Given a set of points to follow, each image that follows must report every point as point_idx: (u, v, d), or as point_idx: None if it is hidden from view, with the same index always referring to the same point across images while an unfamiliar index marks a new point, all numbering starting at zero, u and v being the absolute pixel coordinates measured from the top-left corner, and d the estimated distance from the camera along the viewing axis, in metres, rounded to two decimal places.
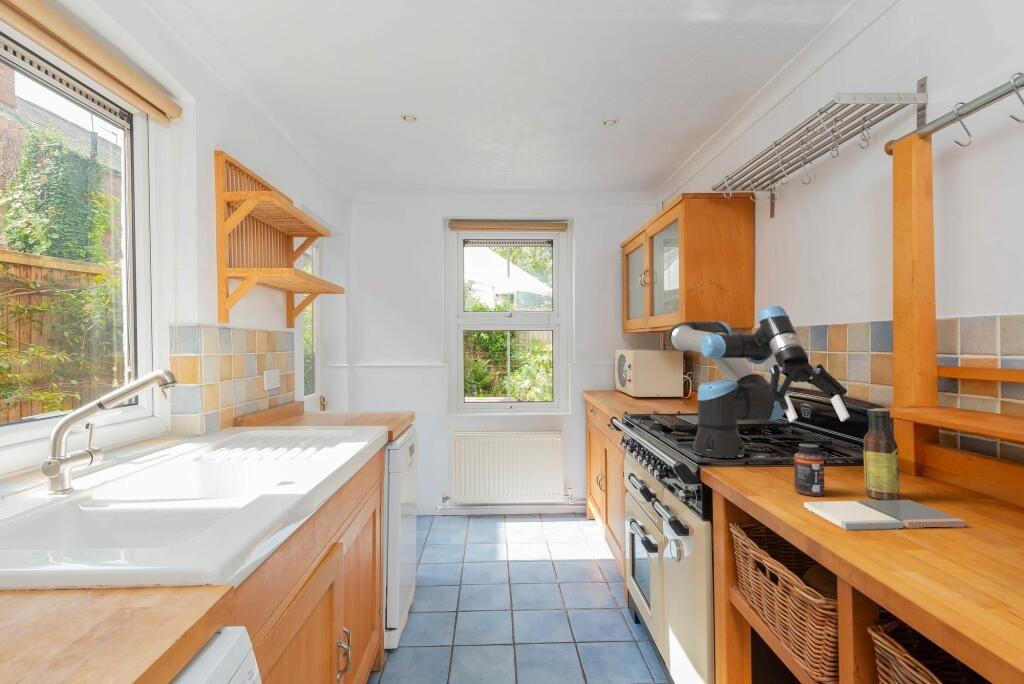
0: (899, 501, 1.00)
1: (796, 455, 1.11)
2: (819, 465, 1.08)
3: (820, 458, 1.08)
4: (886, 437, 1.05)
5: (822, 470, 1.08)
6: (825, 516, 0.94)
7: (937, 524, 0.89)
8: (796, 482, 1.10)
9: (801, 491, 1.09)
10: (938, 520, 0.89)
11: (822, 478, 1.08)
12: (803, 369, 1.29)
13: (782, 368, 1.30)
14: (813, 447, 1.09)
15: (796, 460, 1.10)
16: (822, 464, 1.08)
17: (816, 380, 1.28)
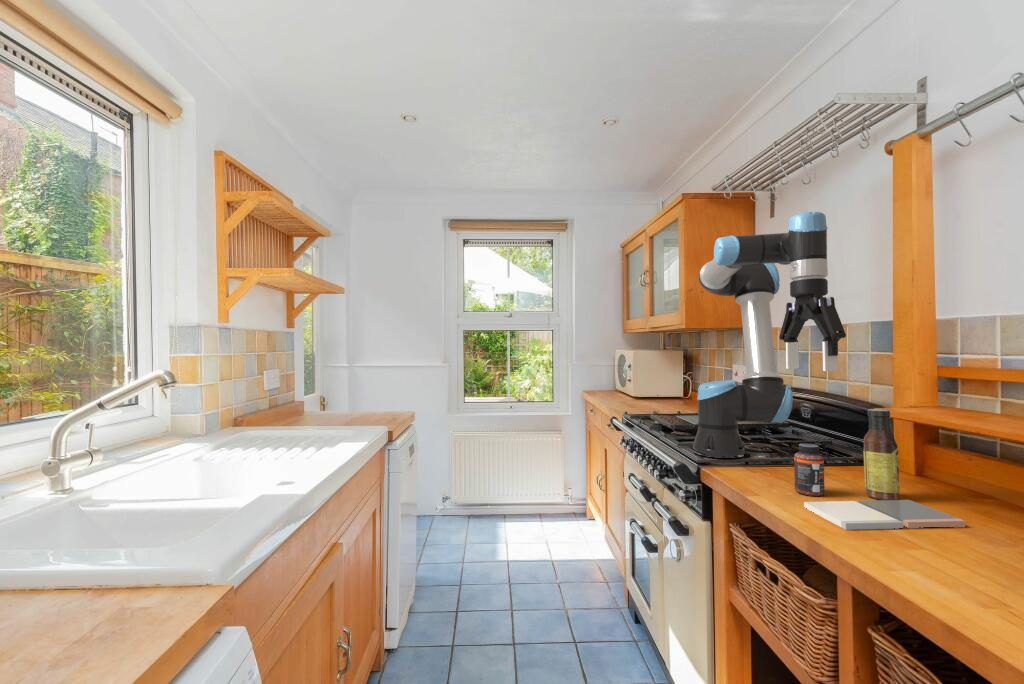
0: (899, 501, 1.00)
1: (796, 455, 1.11)
2: (819, 465, 1.08)
3: (820, 458, 1.08)
4: (886, 437, 1.05)
5: (822, 470, 1.08)
6: (825, 516, 0.94)
7: (937, 524, 0.89)
8: (796, 482, 1.10)
9: (801, 491, 1.09)
10: (938, 520, 0.89)
11: (822, 478, 1.08)
12: None
13: None
14: (813, 447, 1.09)
15: (796, 460, 1.10)
16: (822, 464, 1.08)
17: None
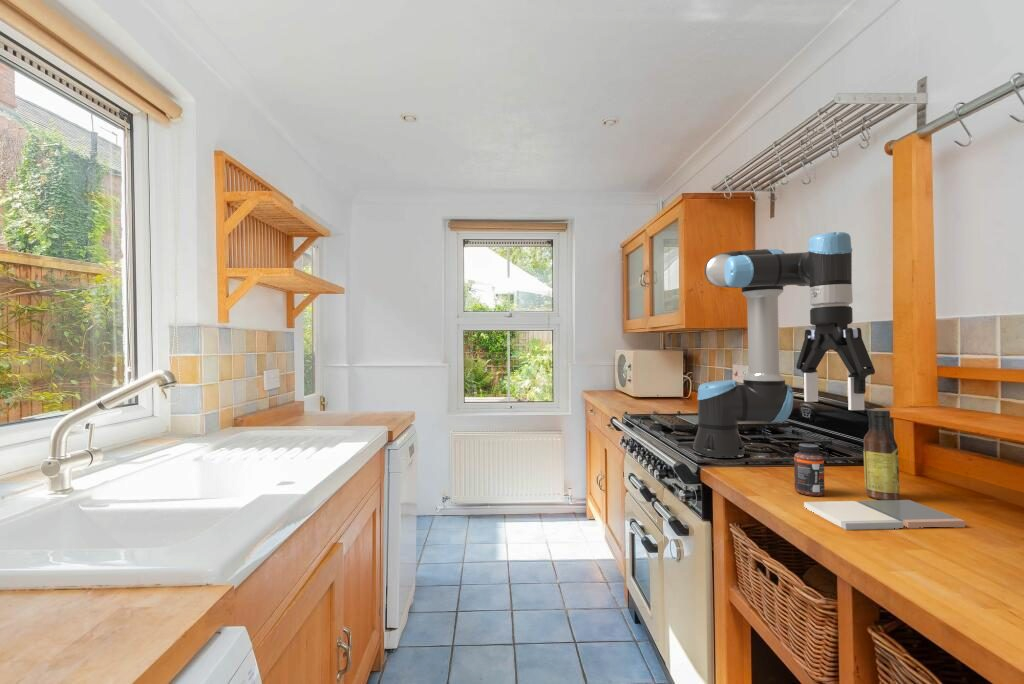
0: (899, 501, 1.00)
1: (796, 455, 1.11)
2: (819, 465, 1.08)
3: (820, 458, 1.08)
4: (886, 437, 1.05)
5: (822, 470, 1.08)
6: (825, 516, 0.94)
7: (937, 524, 0.89)
8: (796, 482, 1.10)
9: (801, 491, 1.09)
10: (938, 520, 0.89)
11: (822, 478, 1.08)
12: None
13: None
14: (813, 447, 1.09)
15: (796, 460, 1.10)
16: (822, 464, 1.08)
17: None
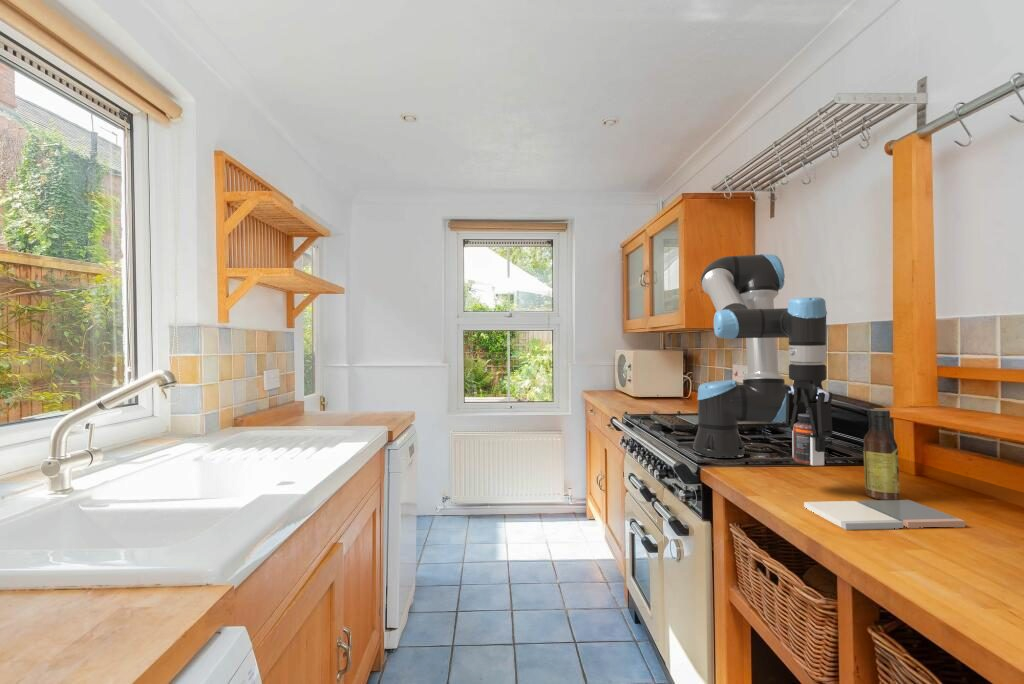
0: (899, 501, 1.00)
1: (795, 425, 1.11)
2: None
3: None
4: (886, 437, 1.05)
5: None
6: (825, 516, 0.94)
7: (937, 524, 0.89)
8: (795, 452, 1.11)
9: (800, 460, 1.10)
10: (938, 520, 0.89)
11: None
12: None
13: None
14: None
15: (795, 430, 1.11)
16: None
17: None
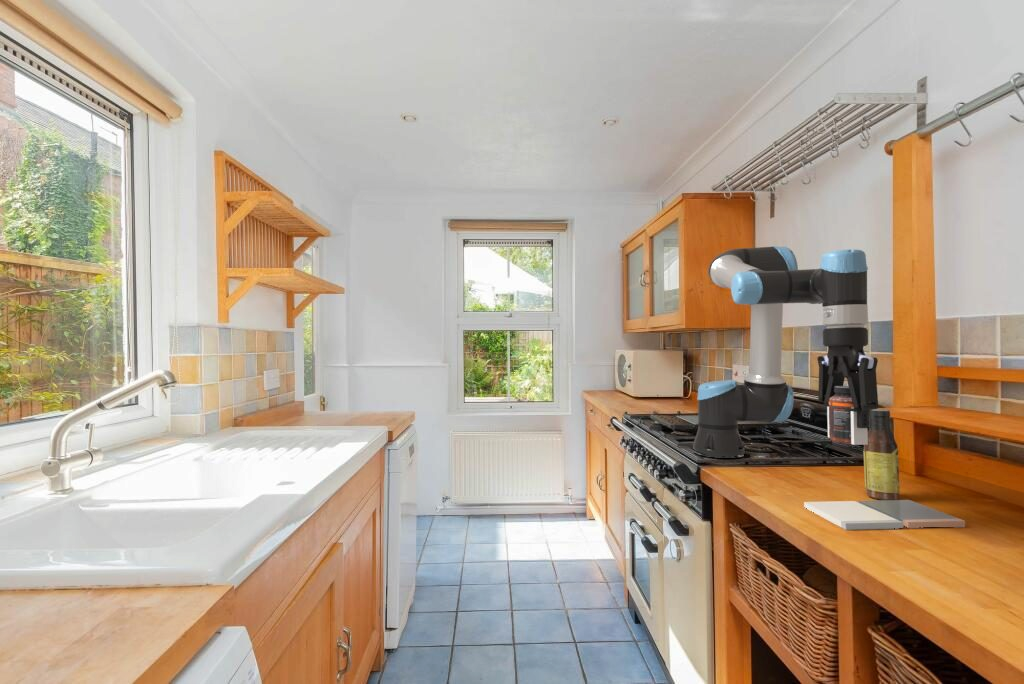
0: (899, 501, 1.00)
1: (831, 398, 0.96)
2: None
3: None
4: (886, 437, 1.05)
5: None
6: (825, 516, 0.94)
7: (937, 524, 0.89)
8: (831, 430, 0.96)
9: (838, 439, 0.94)
10: (938, 520, 0.89)
11: None
12: None
13: (828, 357, 1.00)
14: None
15: (831, 404, 0.96)
16: None
17: None
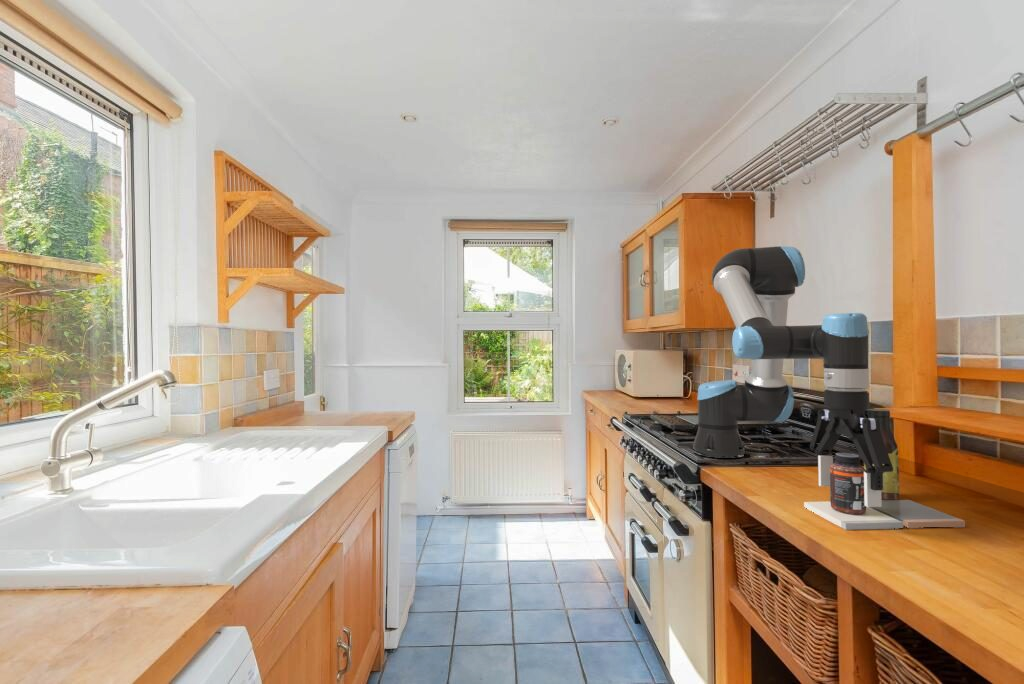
0: (899, 501, 1.00)
1: (833, 466, 0.96)
2: (861, 478, 0.93)
3: (862, 470, 0.93)
4: (886, 437, 1.05)
5: None
6: (825, 516, 0.94)
7: (937, 524, 0.89)
8: (833, 498, 0.95)
9: (839, 508, 0.94)
10: (938, 520, 0.89)
11: None
12: None
13: None
14: (853, 457, 0.94)
15: (833, 472, 0.95)
16: None
17: None
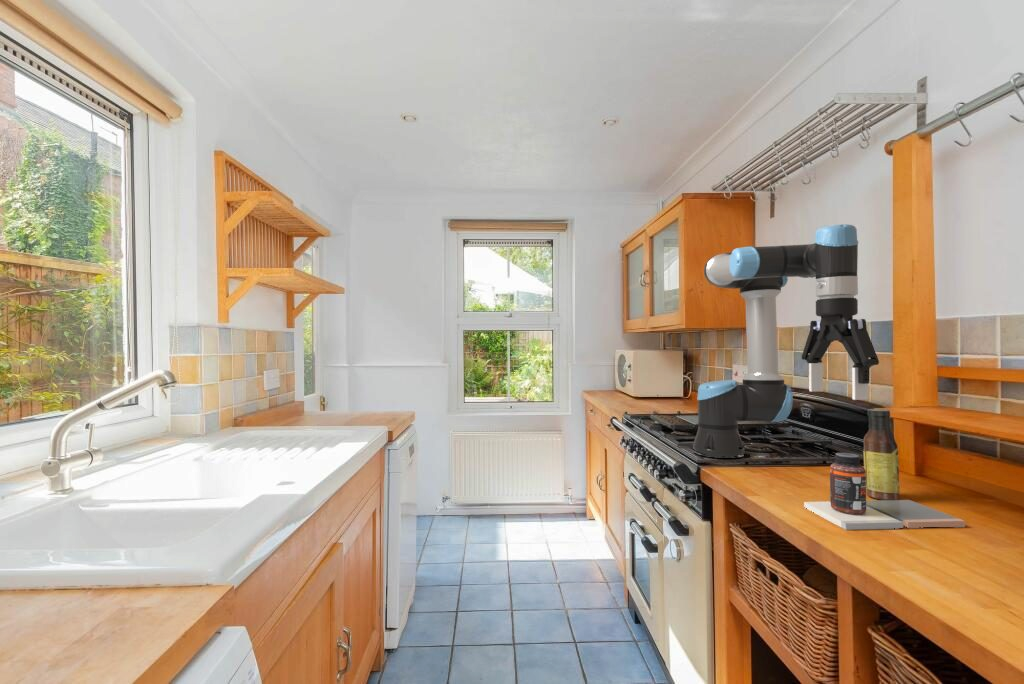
0: (899, 501, 1.00)
1: (833, 466, 0.96)
2: (861, 478, 0.93)
3: (862, 470, 0.93)
4: (886, 437, 1.05)
5: (864, 484, 0.93)
6: (825, 516, 0.94)
7: (937, 524, 0.89)
8: (833, 498, 0.95)
9: (839, 508, 0.94)
10: (938, 520, 0.89)
11: (864, 493, 0.93)
12: None
13: (820, 324, 1.07)
14: (853, 457, 0.94)
15: (833, 472, 0.95)
16: (864, 477, 0.93)
17: None
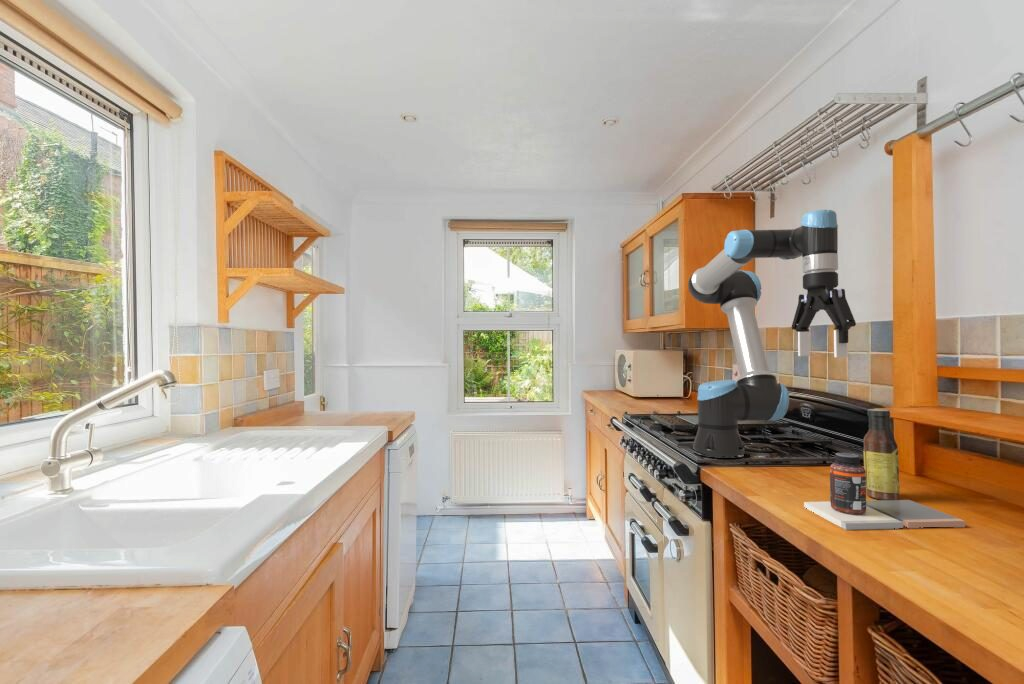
0: (899, 501, 1.00)
1: (832, 466, 0.96)
2: (861, 478, 0.93)
3: (861, 470, 0.93)
4: (886, 437, 1.05)
5: (864, 484, 0.93)
6: (825, 516, 0.94)
7: (937, 524, 0.89)
8: (833, 498, 0.95)
9: (839, 508, 0.94)
10: (938, 520, 0.89)
11: (864, 493, 0.93)
12: None
13: None
14: (853, 457, 0.94)
15: (833, 472, 0.95)
16: (864, 477, 0.93)
17: None
